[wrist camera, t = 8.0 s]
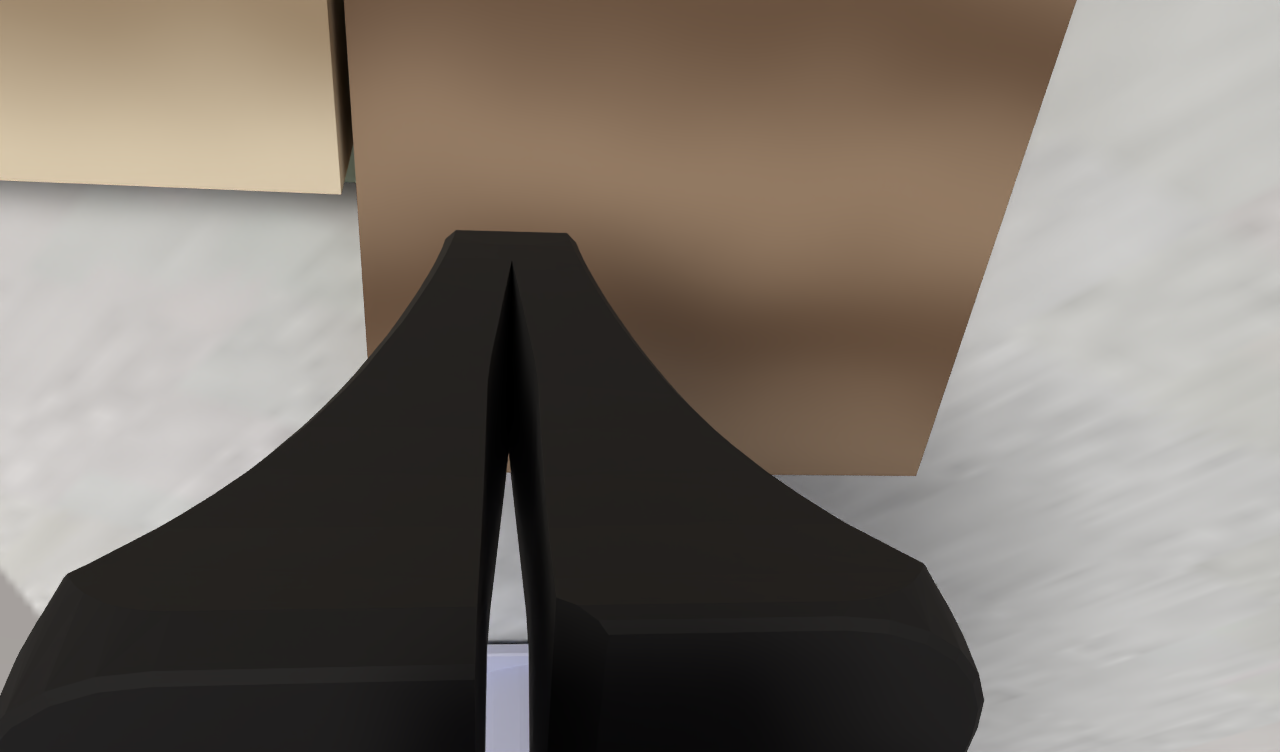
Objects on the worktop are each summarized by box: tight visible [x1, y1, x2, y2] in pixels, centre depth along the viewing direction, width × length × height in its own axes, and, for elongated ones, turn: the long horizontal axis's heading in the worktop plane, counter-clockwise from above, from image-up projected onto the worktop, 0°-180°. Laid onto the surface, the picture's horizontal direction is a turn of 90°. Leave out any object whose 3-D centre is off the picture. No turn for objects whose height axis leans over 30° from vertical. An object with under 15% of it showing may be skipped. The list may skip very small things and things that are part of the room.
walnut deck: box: [344, 0, 1076, 476], centre depth 19 cm, size 20×12×2 cm, turn 174°
